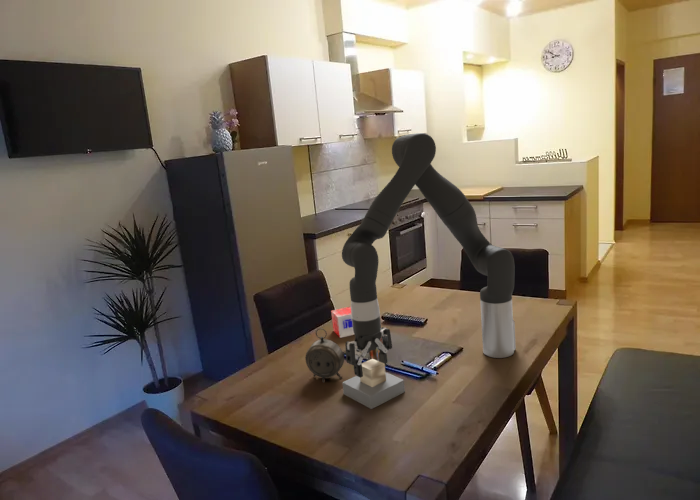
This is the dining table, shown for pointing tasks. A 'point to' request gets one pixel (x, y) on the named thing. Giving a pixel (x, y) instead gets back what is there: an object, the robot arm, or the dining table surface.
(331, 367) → the alarm clock
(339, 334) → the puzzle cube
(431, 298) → the dining table surface
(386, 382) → the base block
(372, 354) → the tin
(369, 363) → the birch cube
